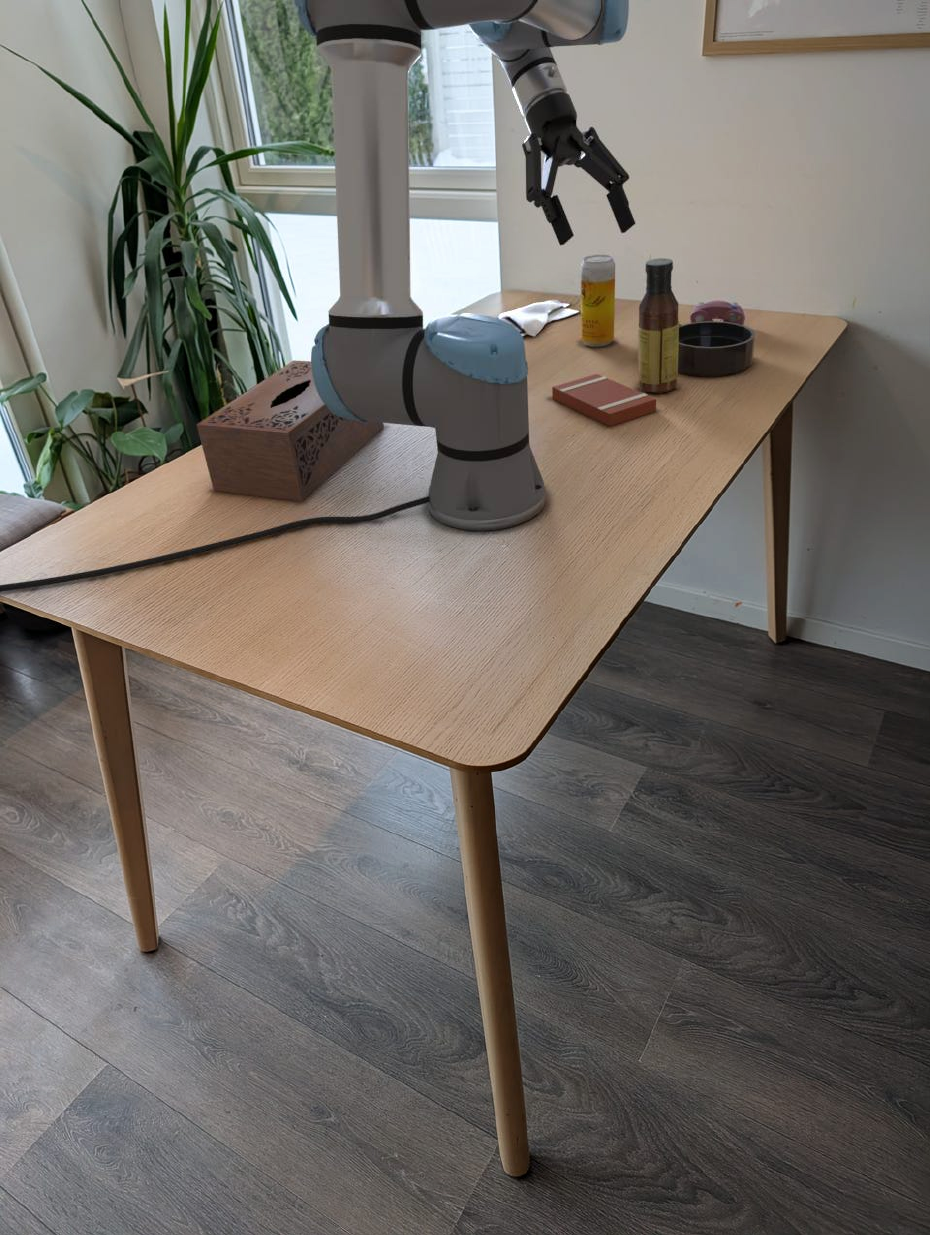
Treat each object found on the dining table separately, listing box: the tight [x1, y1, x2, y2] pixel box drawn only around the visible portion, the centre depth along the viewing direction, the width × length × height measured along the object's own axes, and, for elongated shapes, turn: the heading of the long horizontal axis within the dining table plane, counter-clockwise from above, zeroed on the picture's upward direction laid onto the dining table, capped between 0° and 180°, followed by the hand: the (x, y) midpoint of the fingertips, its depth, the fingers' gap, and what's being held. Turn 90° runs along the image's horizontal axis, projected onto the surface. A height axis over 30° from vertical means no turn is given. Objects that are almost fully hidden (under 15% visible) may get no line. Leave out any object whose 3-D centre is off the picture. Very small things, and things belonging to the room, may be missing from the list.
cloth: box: [497, 299, 580, 338], centre depth 180 cm, size 26×14×2 cm, turn 142°
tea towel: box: [551, 373, 657, 427], centre depth 141 cm, size 9×15×2 cm, turn 30°
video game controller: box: [689, 300, 746, 326], centre depth 165 cm, size 10×5×7 cm, turn 73°
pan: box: [678, 320, 756, 377], centre depth 151 cm, size 14×14×5 cm
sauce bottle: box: [637, 257, 680, 394], centre depth 140 cm, size 7×6×20 cm
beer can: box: [580, 254, 616, 348], centre depth 162 cm, size 6×6×15 cm
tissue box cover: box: [196, 360, 385, 503], centre depth 131 cm, size 26×14×10 cm, turn 158°
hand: (598, 234), depth 139 cm, fingers open, 13 cm apart
